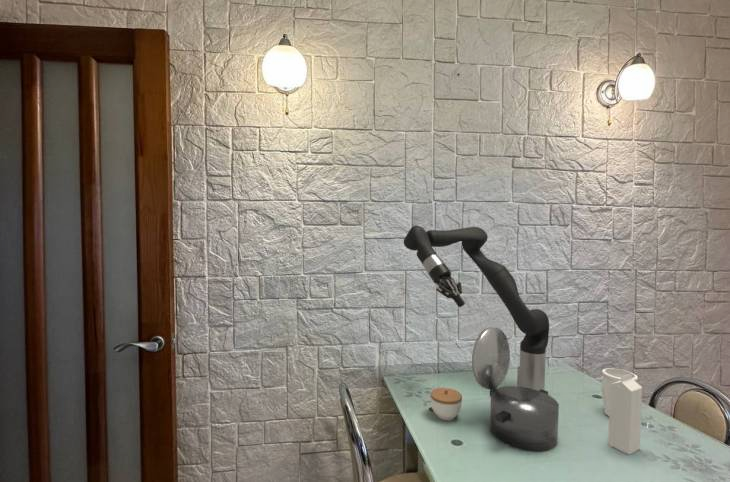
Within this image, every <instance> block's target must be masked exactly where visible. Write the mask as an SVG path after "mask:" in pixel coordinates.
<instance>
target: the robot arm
mask: <svg viewBox="0 0 730 482" xmlns="http://www.w3.org/2000/svg"><path fill="white" fill-rule="evenodd" d="M460 241H462V246H463V248H462V249H463V250H464V252H465V253H466V254H467V256H468V257H469V258H470V259H471V260H472V261H473V262H474V264H475V265H476V266H477V267H478V269H479V270H480V271H481V273H482V274H483V275H484V277H485V279H486V280H487V282H488V283H489V285H490V286H491V288H492V289H493V290H494V291H495V293H496V294H497V295H498V297H499V298H500V300H501V301H502V303H503V304H504V306H505V307H506V309H507V310H508V312H509V314H510V316H511V317H512V319H513V321H514V323H515V324H516V326H517V328H518V329H519V330H520V331H521V332H522V333H523V334H525V335H524V337H523V338H522V339H521V341H520V345H519V366H518V367H517V375H516V376H517V379H516V380H517V381H516V382H517V383H516V386H518V387H526V388H530V389H534V390H538V391H539V390H541V389H542V390H545V387H546V386H545V385H546V384H545V383H546V382H545V381H546V351H547V347H548V344H549V337H550V336H549V334H550V320H549V317H548V315H547V313H546V312H545V311H543V310H541V309H539V308H538V309H537V308H533V309H530V308H528V306H527V305H526V304H525V303H524V300H522V298H521V296H520V293H519V290H518V286H517V282H516V280H515V278H514V276H513V275H512V274H511V273H510V270H508V269H507V267H506V266H505V265H504V264H502V263H499V262H497V261H494V260H491V259H489V258H488V257H487V256H486V255H485V254H484V253H483V252H482V250H481V248H483V246H484V245H485V244H486V242H487V241H488V234H487V232H486V231H485V230H484V229H483V228H482V227H478V226H469V227H462V228H457V229H450V230H449V229H448V230H447V229H446V230H445V229H443V230H441V229H440V230H439V229H438V230H437V229H436V230H435V229H430V230H427V231H426V230H425V228H423V227H422V226H420V225H412V226H411V227H410V229H409V230H408V233H407V234H406V235H405V237H404V239H403V244H404V247H405V248H406V249H408V250H411V251H416V256H417V258H418V260H419V262H420V263H421V264H422V266H423V268H424V270H425V271H426V273H427V274H428V275H429V278H430V279H431V280H432V282H433V283H434V284H435V285H437V287H436V289H435V290H436V291H437V292H438V293H440V294H441V295H443V296H445V298H446V299H451V300H453V301H454V303H455V304H456V305H457V307H459V308H461V307H463V306H464V305H465V304H466V303H465V301H464V299H463V298H462V296H461V294H463V289H462V282H460V281H458V282H457V281H455V279H454V278H453V277H452V272H451V270H450V269H449V267H448V266H447V265H446V263H445V262H444V261H443V259H442V258H441V256H439V255H438V253H437V252H436V251H435V249H434V248H440V247H441V248H442V247H443V248H444V247H448V246H451V245H455V244H456V243H459V242H460ZM462 246H461V247H462ZM480 250H481V251H480Z"/></svg>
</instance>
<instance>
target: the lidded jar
mask: <svg viewBox="0 0 730 482" xmlns="http://www.w3.org/2000/svg"><path fill="white" fill-rule="evenodd" d="M430 403H431V408H432V410H433V413H434V414H435V415H436V417H438V419H440V420H443V421H452V420H454V419H455V418H456V417H457V416H458V415H459V413H460V411H461V409H462V403H463V395H462V393H461V392H460V391H458V390H456V389H453V388H449V387H437V388H434V389H432V390H431V391H430Z"/></svg>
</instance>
